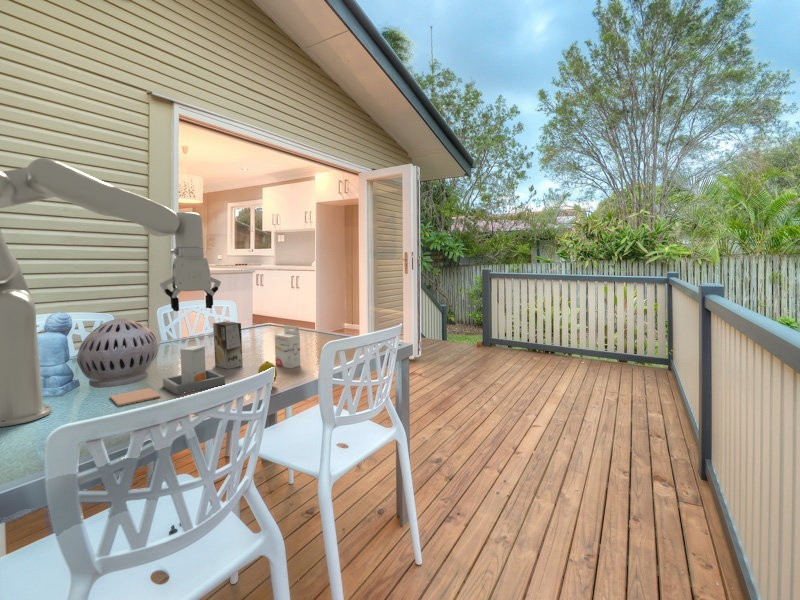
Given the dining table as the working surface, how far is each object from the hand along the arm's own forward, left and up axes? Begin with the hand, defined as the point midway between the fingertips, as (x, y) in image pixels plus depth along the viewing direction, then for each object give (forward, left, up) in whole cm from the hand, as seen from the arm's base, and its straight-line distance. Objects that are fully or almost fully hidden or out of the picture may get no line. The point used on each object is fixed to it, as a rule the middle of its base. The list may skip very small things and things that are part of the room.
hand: (193, 309), depth 126 cm
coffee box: (+17, +16, -24) cm, 33 cm away
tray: (-1, 0, -24) cm, 24 cm away
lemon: (+14, -18, -24) cm, 33 cm away
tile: (-17, 0, -24) cm, 29 cm away
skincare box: (-1, 0, -24) cm, 24 cm away
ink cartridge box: (+32, 0, -24) cm, 40 cm away
